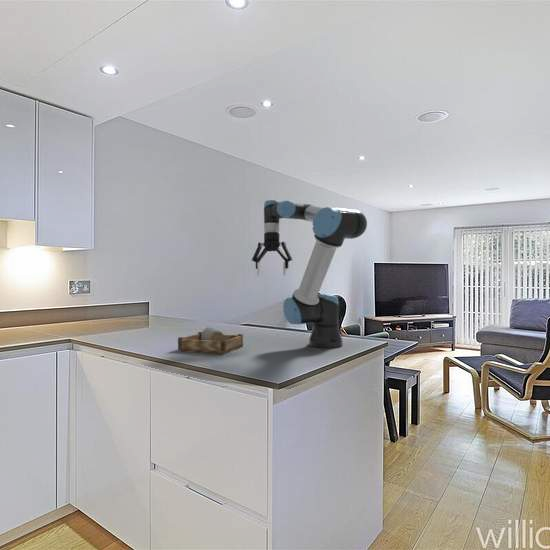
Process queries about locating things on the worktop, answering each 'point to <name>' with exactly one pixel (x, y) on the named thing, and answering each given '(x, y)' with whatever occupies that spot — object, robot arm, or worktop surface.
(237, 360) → the worktop surface
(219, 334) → the ceramic mug
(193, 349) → the crate
